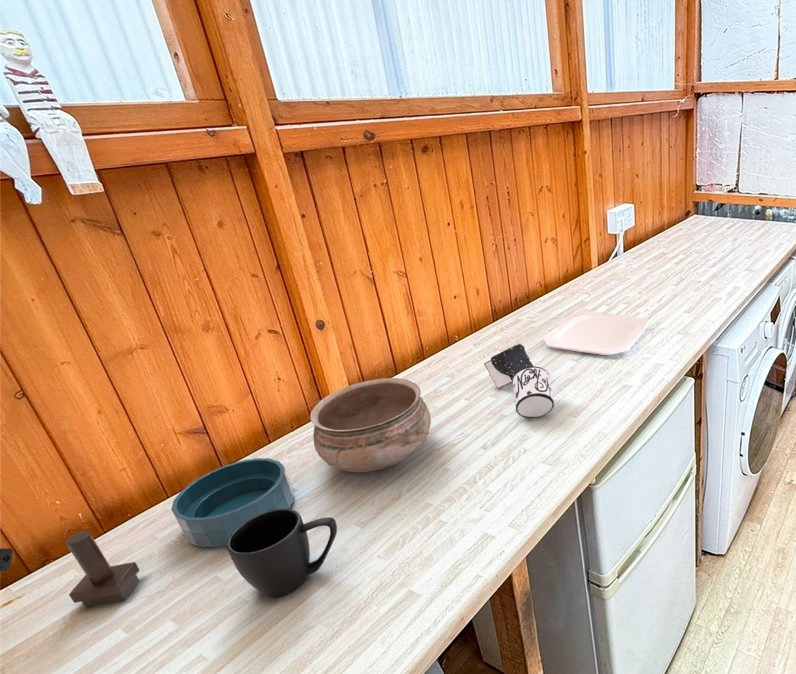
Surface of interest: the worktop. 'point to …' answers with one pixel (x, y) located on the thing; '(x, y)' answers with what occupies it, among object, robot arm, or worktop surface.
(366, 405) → the cooking pot
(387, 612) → the worktop surface
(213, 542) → the bowl
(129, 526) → the worktop surface
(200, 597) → the worktop surface
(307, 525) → the mug
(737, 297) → the worktop surface
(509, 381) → the black and white cylinder
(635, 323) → the plate
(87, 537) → the brown stamp
